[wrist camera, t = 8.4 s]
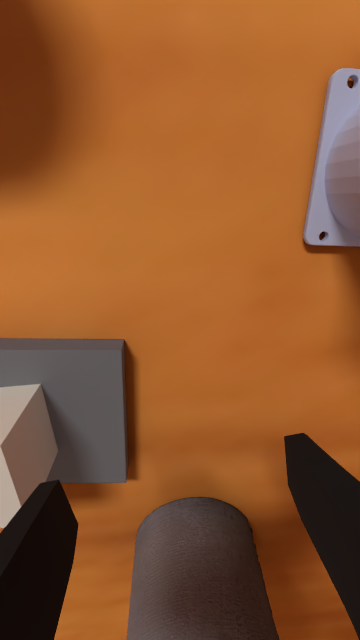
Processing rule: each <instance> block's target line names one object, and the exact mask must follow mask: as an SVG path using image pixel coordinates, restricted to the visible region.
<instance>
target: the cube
mask: <svg viewBox="0 0 360 640" xmlns="http://www.w3.org/2000/svg"><path fill="white" fill-rule="evenodd" d="M57 452H58V448H57V444H56V440H55V437H54V433H53V429H52V425H51V421H50V418H49V414H48V410H47V406H46V402H45V399H44V395H43V391H42V387H41V384H34V385H22V386H10V387H0V528H5V527H6V526H7V524H8V523H9V522H10V521H11V519H12V518H13V517H14V515H15V514H16V513H17V512H18V510H19V509H20V508H21V506H22V505H23V504H24V503H25V501H26V500H27V499H28V497H29V496H30V495H31V494H32V492H33V491H34V490H35V489H36V487H37V486H38V485H39V484H40V483H43V482H46V479H47V477H48V474H49V472H50V470H51V467H52V465H53V462H54V460H55V457H56V455H57Z"/></svg>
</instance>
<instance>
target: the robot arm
mask: <svg viewBox="0 0 360 640" xmlns="http://www.w3.org/2000/svg"><path fill="white" fill-rule="evenodd" d="M348 78H352V80H353V81H354V85H353V87H352V88H349V87H348V85H347V80H348ZM323 231H324V233H325V237H324V239H322V240H320V239H319V235H320V233H321V232H323ZM303 239H304V241H305V242H306V243H307V244H309V245H319V246H358V247H360V69H348V68H343V69H339V70H338V71H336V72H335V73H333V74H332V76H331V77H330V79H329V82H328V87H327V93H326V99H325V105H324V112H323V118H322V124H321V130H320V136H319V142H318V148H317V154H316V160H315V166H314V172H313V178H312V184H311V190H310V196H309V203H308V209H307V215H306V221H305V227H304V233H303ZM284 441H285V453H286V465H287V477H288V486H289V488H290V491H291V494H292V496H293V499H294V502H295V504H296V507H297V509H298V512H299V515H300V517H301V520H302V522H303V524H304V526H305V528H306V530H307V532H308V534H309V536H310V538H311V540H312V542H313V544H314V546H315V548H316V550H317V552H318V554H319V556H320V558H321V560H322V562H323V564H324V566H325V568H326V570H327V572H328V574H329V576H330V578H331V580H332V582H333V584H334V586H335V588H336V590H337V592H338V594H339V596H340V598H341V600H342V602H343V604H344V606H345V608H346V611H347V613H348V615H349V617H350V619H351V621H352V624H353V626H354V628H355V631H356V633H357V635H358V638H359V640H360V481H358V480H357V479H356V478H355V477H353V476H352V475H351V474H350V473H349V472H347V471H346V470H345V469H344V468H343V467H342V466H340V465H339V464H338V463H337V462H336V461H335V460H334V459H332V458H331V457H330V456H329V455H328V454H327V453H326V452H325V451H323V450H322V449H321V448H320V447H319V446H318V445H317V444H316V443H315V442H314V441H313V440H312V439H310V438H309V437H308V436H307V435H306V434H304V433H300V434H294V435H289V436H284ZM77 530H78V523H77V520H76V518H75V516H74V513H73V511H72V509H71V506H70V504H69V502H68V499H67V497H66V495H65V492H64V490H63V488H62V485H61V483H60V481H59V479H58V480H53V481H48V482H43V483H40V484H39V485H38V486H37V487H36V489H35V490H34V491H33V492H32V494H31V495H30V496H29V497H28V499H27V500H26V501H25V503H24V504H23V505H22V506H21V508H20V509H19V510H18V512H17V513H16V514H15V515H14V517H13V518H12V519H11V521H10V522H9V523H8V524H7V526H6V527H5V528H4V529H3V531H2V532H1V533H0V640H54V637H55V633H56V629H57V625H58V621H59V617H60V613H61V609H62V605H63V601H64V597H65V593H66V589H67V585H68V581H69V577H70V573H71V569H72V564H73V559H74V553H75V546H76V538H77Z"/></svg>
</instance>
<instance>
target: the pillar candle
mask: <svg viewBox="0 0 360 640" xmlns="http://www.w3.org/2000/svg"><path fill="white" fill-rule="evenodd" d="M127 640H279V636H278V634H277V631H276V627H275V623H274V620H273V617H272V610H271V608H270V604H269V600H268V596H267V593H266V589H265V583H264V579H263V574H262V570H261V567H260V564H259V561H258V555H257V552H256V546H255V544H254V542H253V536H252V529H251V528H250V527H249V524H248V520H247V518H246V517H245V516H244V515H243V514H242V513H241V512H240V511H239V510H238V509H236V508H235V507H233V506H232V505H230V504H228V503H225V502H222V501H220V500H217V499H213V498H202V497H198V498H185V499H180V500H176V501H173V502H170V503H168V504H165V505H163V506H161V507H159V508H157V509H156V510H155V511H153V512H152V513H151V514H150V515H148V516H147V517H146V518H145V519H144V520H143V522H142V524H141V525H140V527H139V529H138V532H137V537H136V542H135V556H134V567H133V574H132V587H131V597H130V608H129V619H128V631H127Z"/></svg>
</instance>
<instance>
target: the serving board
mask: <svg viewBox="0 0 360 640" xmlns="http://www.w3.org/2000/svg"><path fill="white" fill-rule="evenodd" d="M34 384H41V387H42V391H43V395H44V399H45V402H46V406H47V410H48V414H49V418H50V421H51V425H52V429H53V433H54V437H55V440H56V444H57V448H58V452H57V455H56V457H55V460H54V462H53V465H52V467H51V470H50V472H49V474H48V477H47V479H46V482H48V481H53V480H58V479H59V481H60V483H61V484H75V483H126V480H127V473H128V438H127V408H126V379H125V349H124V339H2V338H0V387H10V386H22V385H34Z"/></svg>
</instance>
